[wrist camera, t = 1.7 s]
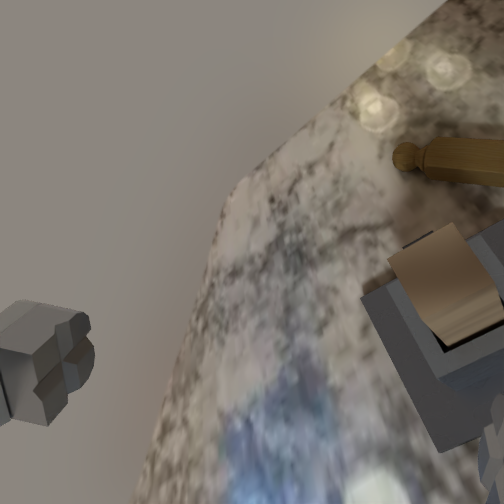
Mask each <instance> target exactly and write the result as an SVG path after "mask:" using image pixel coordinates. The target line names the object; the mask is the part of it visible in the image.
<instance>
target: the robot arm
mask: <svg viewBox="0 0 504 504" xmlns="http://www.w3.org/2000/svg"><path fill="white" fill-rule="evenodd" d="M90 330H91V326H90V321H89V316H88V315H86V314H85V313H84V312H81V311H76V310H72V309H67V308H62V307H58V306H54V305H49V304H42V303H38V302H34V301H29V300H19V301H16V302H15V303H13V304H12V305H11V306H9V307H8V308H6V309H5V310H4V311H2V312H1V313H0V426H2V425H4V424H5V423H7V422H9V421H10V420H11V419H16V420H20V421H25V422H29V423H34V424H38V425H43V426H49V425H50V423H51V422H52V421H53V420H54V419H55V418H56V416H57V415H58V414H59V413H60V412H61V411H62V409H63V408H64V407H65V406H66V405H67V403H68V394H69V393H71V392H74V391H76V390H78V389H80V388H81V387H82V386H83V385H84V383H85V382H86V381H87V380H88V378H89V376H90V374H91V371H92V369H93V366H94V358H95V352H94V346H93V345H92V343H91V342H90V340H89V339H88V338H87V337H86V335H87V334H88V333H89V331H90ZM490 411H491V415H492V420H493V423H492V424H490V425H488V426H487V427H485V428H484V429H483V432H482V436H481V439H480V442H479V451H478V470H479V476H480V482H481V483H482V484H483V486H484V487H485V488H486V489H487V490H488V491H489V496H488V498H487V501H486V504H504V394H501V393H498V394H497V396H496V397H495V398H494V401H493V403H492V406H491V409H490ZM10 418H11V419H10Z"/></svg>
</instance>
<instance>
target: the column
mask: <svg viewBox="0 0 504 504" xmlns="http://www.w3.org/2000/svg"><path fill="white" fill-rule="evenodd" d="M387 260H388V262H389V264H390V265H391V267H392V269H393V271H394V272H395V274H396V276H397V278H398V279H399V281H400V283H401V285H402V286H403V288H404V290H405V292H406V293H407V295H408V297H409V299H410V300H411V302H412V304H413V306H414V307H415V309H416V311H417V312H418V314H419V316H420V318H421V319H422V321H423V322H424V323H425V324H426V325H427V326H428V327H429V328H430V329H431V330H432V331H433V332H434V333H435V334H436V335H437V336H438V337H439V338H440V339H441V340H442V341H443V342H444V343H445V344H446V345H447V346H448V347H449V348H450V349H451V350H453V349H455V348H457V347H459V346H461V345H463V344H465V343H468V342H470V341H472V340H474V339H476V338H478V337H480V336H482V335H484V334H486V333H488V332H490V331H492V330H495V329H497V328H499V327H501V326H503V325H504V309H503V306H502V303H501V300H500V297H499V294H498V291H497V288H496V285H495V282H494V281H493V279H492V278H491V276H490V275H489V273H488V272H487V271H486V269H485V268H484V266H483V265H482V263H481V262H480V261H479V259H478V258H477V256H476V255H475V254H474V252H473V251H472V249H471V248H470V246H469V245H468V244H467V242H466V241H465V239H464V238H463V236H462V235H461V234H460V232H459V231H458V229H457V228H456V226H455V225H454V224H453V222H451V223H449V224H448V225H446V226H444V227H442V228H440V229H439V230H437V231H435V232H433V233H432V234H430V235H428V236H426V237H425V238H423V239H421V240H419V241H418V242H416V243H414V244H412V245H411V246H409V247H407V248H405V249H403V250H402V251H400V252H398V253H396V254H395V255H393V256H391V257H389V258H388V259H387Z"/></svg>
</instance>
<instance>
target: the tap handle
mask: <svg viewBox="0 0 504 504" xmlns="http://www.w3.org/2000/svg"><path fill="white" fill-rule="evenodd" d="M392 160H393V164H394V166H395V167H396V168H397V169H399V170H401V171H404V172H408V171H412V170H413V169H415V168H416V167H417V166H418V167H419V168H420V170H422V171H424V172H425V174H426V176H427V177H428V178H430V179H431V180H439V181H448V182H458V183H467V184H477V185H486V186H496V187H504V140H491V139H472V138H454V137H436V138H435V139H433V140H432V142H431V143H430V145H429V146H428V145H426V146H425V147H424V148H422V149H419V148H418V147H417V146H416V145H415V144H413V143H410V142H404V143H402V144H400V145H399V146H398V147H397V148H396V149H395V150H394V152H393V156H392Z"/></svg>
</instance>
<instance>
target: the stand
mask: <svg viewBox="0 0 504 504" xmlns="http://www.w3.org/2000/svg"><path fill="white" fill-rule="evenodd" d="M432 233H433V230H432V231H431V232H429V233H427V234H425V235H424V236H422V237H420V238H418V239H417V240H415V241H413V242H411V243H410V244H408V245H406V246H404V247H403V249H405V248H407V247H409V246H411V245H412V244H414V243H416V242H418V241H419V240H421V239H423V238H425V237H426V236H428V235H430V234H432ZM465 241H466V242H467V244H468V245H469V246H470V248H471V249H472V251H473V252H474V254H475V255H476V256H477V258H478V259H479V261H480V262H481V263H482V265H483V266H484V268H485V269H486V271H487V272H488V273H489V275H490V276H491V278H492V279H493V281H494V282H495V285H496V288H497V291H498V294H499V297H500V300H501V303H502V306H503V309H504V219H503V220H501V221H499V222H497V223H495V224H494V225H492V226H490V227H488V228H486V229H485V230H483V231H481V232H479V233H477V234H475V235H474V236H472V237H470V238H468V239H466V240H465ZM360 299H361V301H362V303H363V305H364V307H365V309H366V311H367V313H368V315H369V317H370V319H371V320H372V322H373V324H374V326H375V328H376V330H377V332H378V334H379V336H380V338H381V340H382V342H383V344H384V346H385V348H386V350H387V352H388V354H389V356H390V358H391V360H392V362H393V364H394V366H395V368H396V370H397V372H398V374H399V376H400V378H401V380H402V382H403V383H404V385H405V387H406V389H407V391H408V393H409V395H410V397H411V399H412V401H413V403H414V405H415V407H416V409H417V411H418V413H419V415H420V417H421V419H422V421H423V423H424V425H425V427H426V429H427V431H428V433H429V435H430V437H431V439H432V441H433V443H434V445H435V447H436V448H437V450H438V452H439V453H443V452H445V451H448V450H450V449H452V448H455V447H457V446H460V445H462V444H465V443H467V442H469V441H472V440H474V439H477V438H479V437H481V436H482V432H483V429H484V428H485V427H487V426H488V425H490V424H492V423H493V420H492V415H491V411H490V409H491V406H492V403H493V401H494V398H495V397H496V396H497V394H498V393H501V394H504V325H503V326H501V327H499V328H497V329H495V330H492V331H490V332H488V333H486V334H484V335H482V336H480V337H478V338H476V339H474V340H472V341H470V342H468V343H465V344H463V345H461V346H459V347H457V348H455V349H453V350H451V349H450V348H449V347H448V346H447V345H446V344H445V343H444V342H443V341H442V340H441V339H440V338H439V337H438V336H437V335H436V334H435V333H434V332H433V331H432V330H431V329H430V328H429V327H428V326H427V325H426V324H425V323H424V322H423V321H422V319H421V318H420V316H419V314H418V312H417V311H416V309H415V307H414V306H413V304H412V302H411V300H410V299H409V297H408V295H407V293H406V292H405V290H404V288H403V286H402V285H401V283H400V281H399V279H398V278H396V279H394V280H392V281H390V282H388V283H386V284H385V285H383V286H381V287H379V288H377V289H376V290H374V291H372V292H370V293H368V294H366V295H365V296H363V297H361V298H360Z"/></svg>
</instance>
